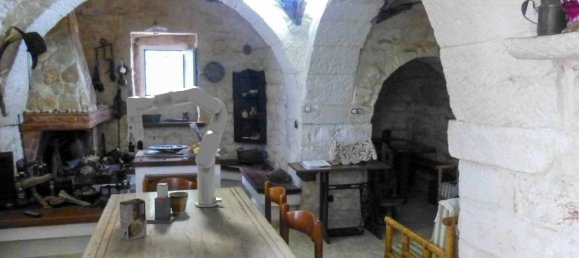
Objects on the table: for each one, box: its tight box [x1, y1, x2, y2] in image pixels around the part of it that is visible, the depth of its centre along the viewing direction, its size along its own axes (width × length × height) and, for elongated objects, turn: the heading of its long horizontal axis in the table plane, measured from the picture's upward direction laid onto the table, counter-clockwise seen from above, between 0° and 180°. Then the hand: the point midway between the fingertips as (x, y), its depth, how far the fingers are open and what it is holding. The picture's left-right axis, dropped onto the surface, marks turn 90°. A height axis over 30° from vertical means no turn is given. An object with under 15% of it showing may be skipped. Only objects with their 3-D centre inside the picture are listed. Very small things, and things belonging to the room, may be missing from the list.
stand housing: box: [146, 195, 180, 225], centre depth 226 cm, size 12×12×12 cm
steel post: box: [156, 182, 169, 198], centre depth 226 cm, size 4×4×16 cm
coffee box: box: [119, 198, 147, 242], centre depth 201 cm, size 9×6×16 cm
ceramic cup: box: [168, 191, 189, 215], centre depth 240 cm, size 13×10×10 cm
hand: (136, 151), depth 249 cm, fingers open, 9 cm apart
